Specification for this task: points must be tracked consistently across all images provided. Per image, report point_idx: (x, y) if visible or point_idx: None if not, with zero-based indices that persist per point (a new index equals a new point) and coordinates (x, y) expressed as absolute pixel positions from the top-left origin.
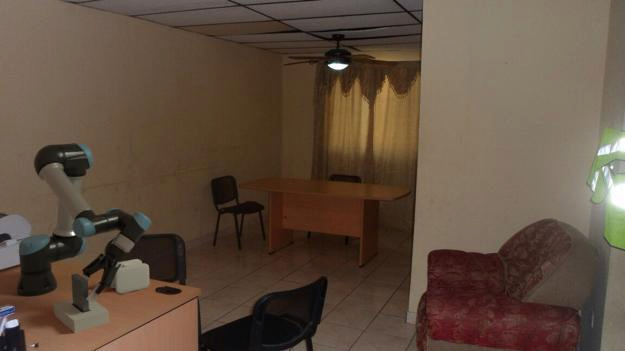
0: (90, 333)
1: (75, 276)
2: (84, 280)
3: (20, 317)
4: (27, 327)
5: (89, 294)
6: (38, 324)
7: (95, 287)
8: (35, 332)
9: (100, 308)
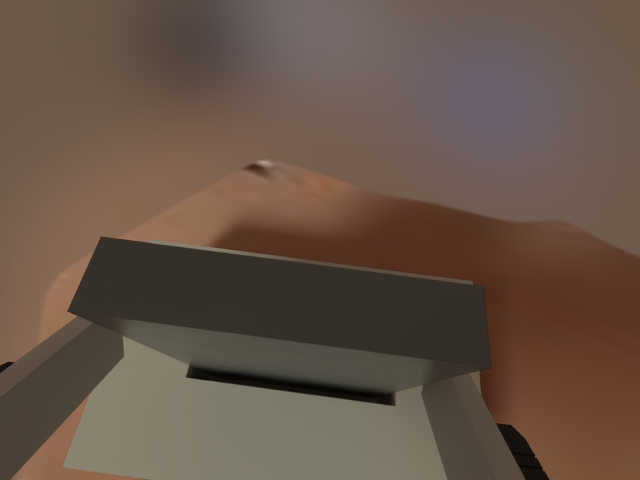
0: None
1: (370, 286)
2: (113, 283)
3: (553, 226)
4: (429, 203)
5: (88, 325)
6: (428, 239)
7: (3, 381)
8: (358, 202)
9: (154, 446)
